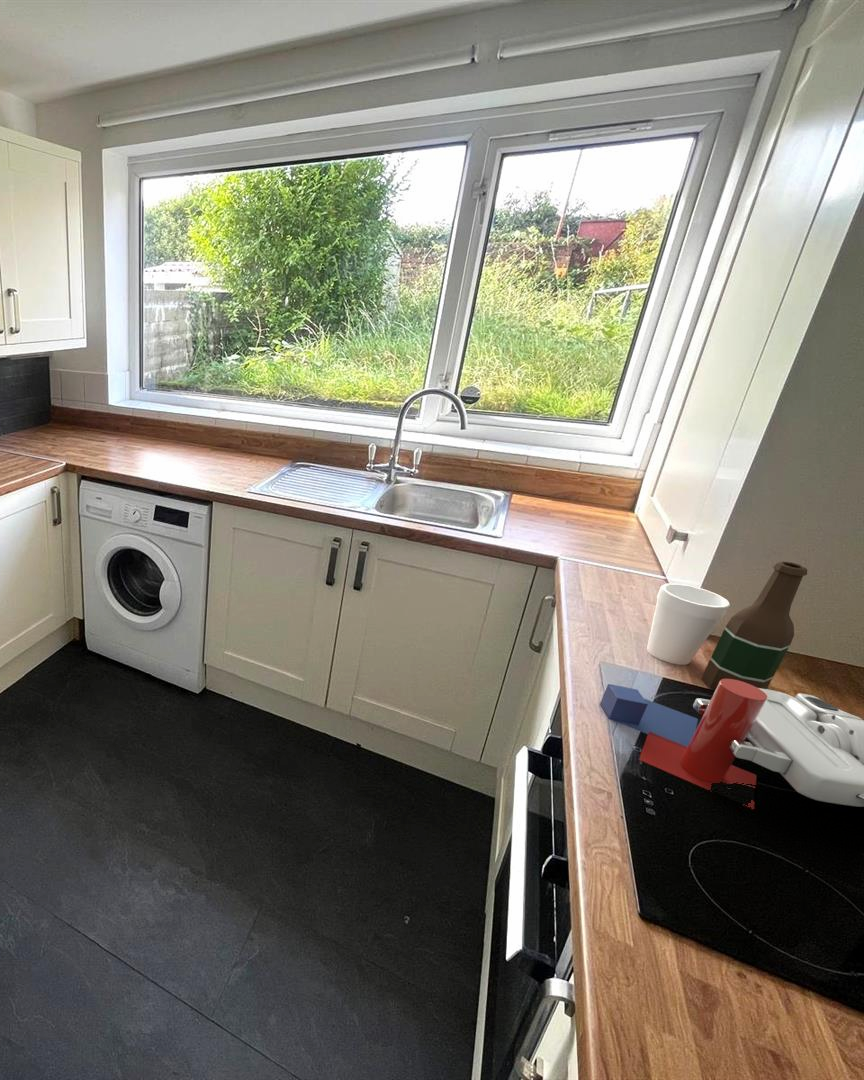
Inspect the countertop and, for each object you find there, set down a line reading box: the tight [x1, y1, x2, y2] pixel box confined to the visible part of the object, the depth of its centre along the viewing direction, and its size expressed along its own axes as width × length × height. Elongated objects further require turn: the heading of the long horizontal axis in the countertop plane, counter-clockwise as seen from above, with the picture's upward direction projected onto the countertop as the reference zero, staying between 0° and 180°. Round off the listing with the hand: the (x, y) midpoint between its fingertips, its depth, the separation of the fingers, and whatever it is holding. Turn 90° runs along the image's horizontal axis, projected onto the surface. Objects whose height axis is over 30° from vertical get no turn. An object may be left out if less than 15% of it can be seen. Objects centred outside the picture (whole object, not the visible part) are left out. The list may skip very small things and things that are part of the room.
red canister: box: [680, 679, 768, 783], centre depth 79 cm, size 5×5×14 cm
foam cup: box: [646, 582, 731, 666], centre depth 108 cm, size 10×9×13 cm
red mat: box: [638, 732, 757, 810], centre depth 83 cm, size 12×9×1 cm
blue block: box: [599, 683, 648, 725], centre depth 92 cm, size 4×4×4 cm
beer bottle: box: [701, 561, 808, 692], centre depth 96 cm, size 8×8×24 cm
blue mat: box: [610, 698, 699, 747], centre depth 92 cm, size 10×11×1 cm
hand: (714, 725), depth 79 cm, fingers open, 8 cm apart
